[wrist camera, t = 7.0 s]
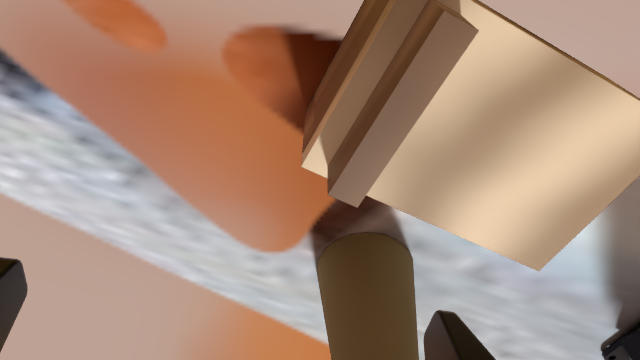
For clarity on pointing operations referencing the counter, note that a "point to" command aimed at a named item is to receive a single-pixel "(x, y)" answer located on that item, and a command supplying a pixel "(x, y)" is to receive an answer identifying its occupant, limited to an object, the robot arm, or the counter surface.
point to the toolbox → (349, 52)
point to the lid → (477, 130)
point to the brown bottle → (369, 298)
